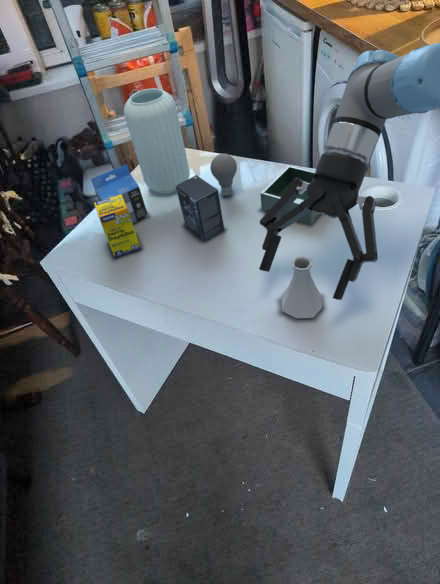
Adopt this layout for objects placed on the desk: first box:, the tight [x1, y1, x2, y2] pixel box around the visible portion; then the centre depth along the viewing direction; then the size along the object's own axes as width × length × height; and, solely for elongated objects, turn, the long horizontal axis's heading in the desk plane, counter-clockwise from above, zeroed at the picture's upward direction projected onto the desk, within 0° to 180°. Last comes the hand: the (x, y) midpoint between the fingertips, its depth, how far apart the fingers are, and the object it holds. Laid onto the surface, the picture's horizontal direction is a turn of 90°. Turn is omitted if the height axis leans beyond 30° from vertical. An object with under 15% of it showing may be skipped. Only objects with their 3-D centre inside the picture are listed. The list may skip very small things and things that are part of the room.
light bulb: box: [210, 153, 238, 196], centre depth 100 cm, size 6×6×10 cm
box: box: [176, 174, 225, 242], centre depth 91 cm, size 8×6×11 cm
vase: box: [123, 87, 191, 194], centre depth 101 cm, size 12×12×22 cm
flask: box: [281, 256, 323, 320], centre depth 73 cm, size 7×7×10 cm
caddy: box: [259, 165, 321, 226], centre depth 95 cm, size 12×12×4 cm
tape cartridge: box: [90, 163, 149, 224], centre depth 96 cm, size 9×4×12 cm, turn 123°
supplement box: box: [93, 194, 142, 259], centre depth 90 cm, size 6×6×11 cm
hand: (298, 284), depth 72 cm, fingers open, 13 cm apart
